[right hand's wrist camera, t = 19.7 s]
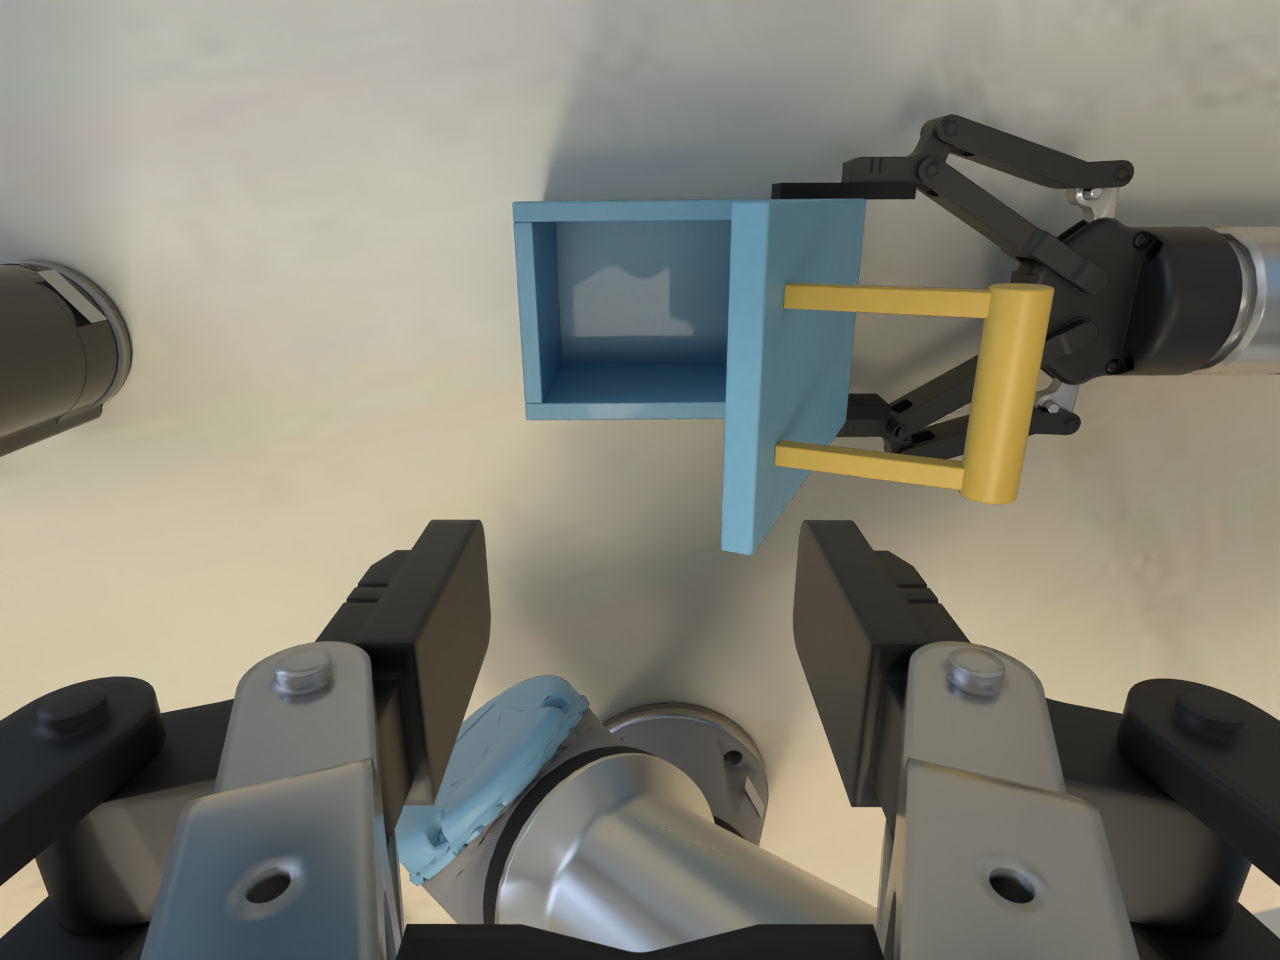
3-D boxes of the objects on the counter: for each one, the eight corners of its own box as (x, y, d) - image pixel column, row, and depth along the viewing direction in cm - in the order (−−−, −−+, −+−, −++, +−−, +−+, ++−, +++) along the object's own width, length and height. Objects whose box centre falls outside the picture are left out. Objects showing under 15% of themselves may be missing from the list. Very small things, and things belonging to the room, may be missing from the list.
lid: (719, 551, 24) (1004, 603, 20) (730, 201, 20) (1078, 198, 17) (824, 420, 37) (1004, 439, 34) (842, 198, 34) (1045, 197, 31)
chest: (550, 374, 48) (525, 420, 38) (541, 201, 44) (511, 201, 34) (792, 372, 48) (832, 418, 38) (803, 198, 44) (851, 198, 34)
